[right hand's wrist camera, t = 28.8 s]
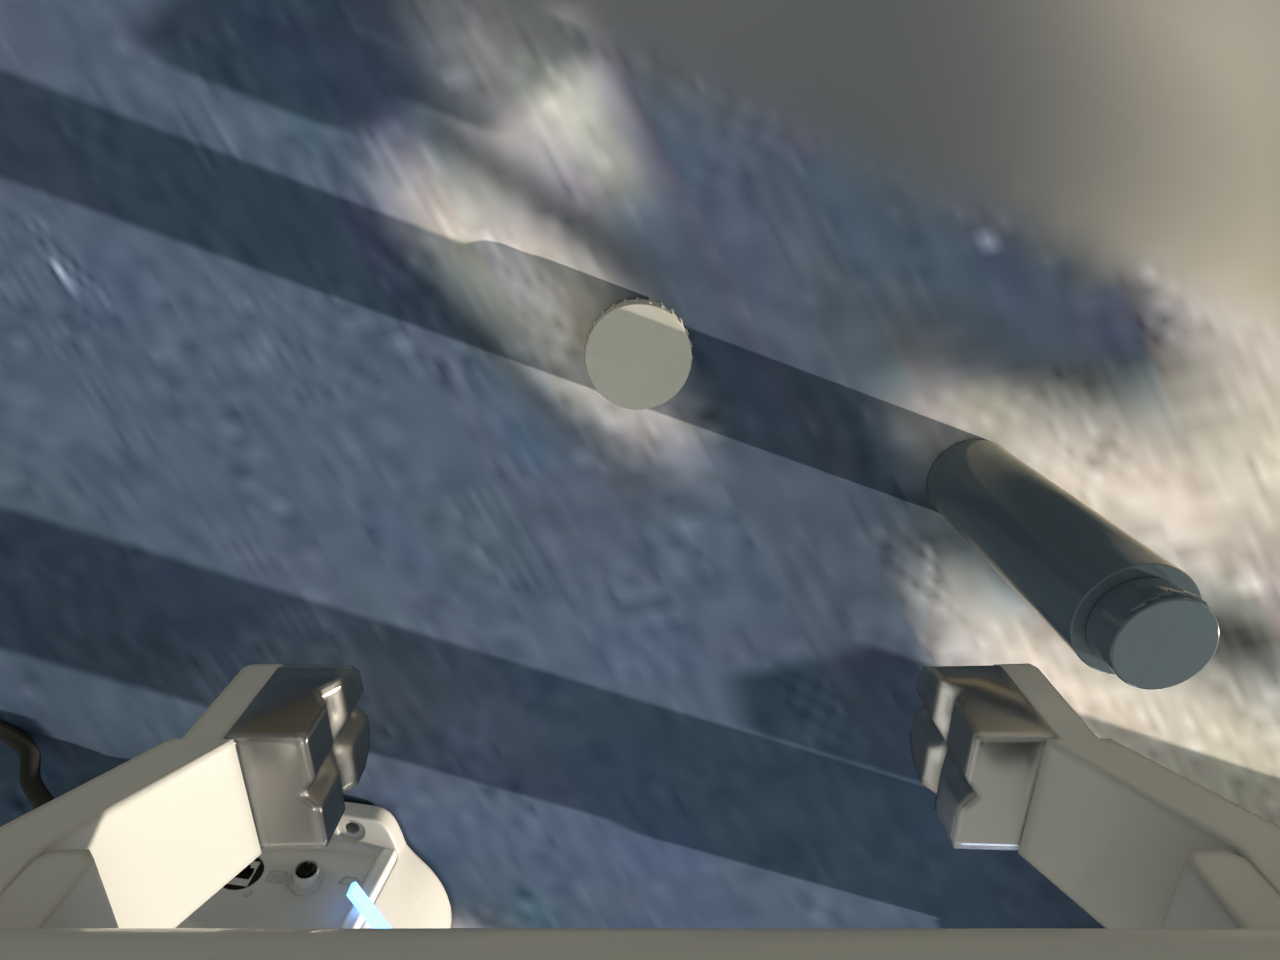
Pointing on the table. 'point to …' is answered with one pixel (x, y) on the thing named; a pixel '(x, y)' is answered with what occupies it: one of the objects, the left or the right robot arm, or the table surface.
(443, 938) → the right robot arm
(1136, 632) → the dark grey cylinder
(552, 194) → the table surface
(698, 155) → the table surface
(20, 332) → the table surface
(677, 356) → the lid
